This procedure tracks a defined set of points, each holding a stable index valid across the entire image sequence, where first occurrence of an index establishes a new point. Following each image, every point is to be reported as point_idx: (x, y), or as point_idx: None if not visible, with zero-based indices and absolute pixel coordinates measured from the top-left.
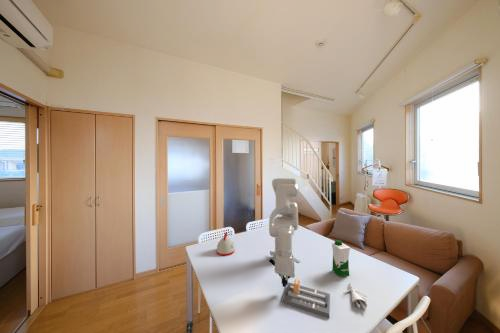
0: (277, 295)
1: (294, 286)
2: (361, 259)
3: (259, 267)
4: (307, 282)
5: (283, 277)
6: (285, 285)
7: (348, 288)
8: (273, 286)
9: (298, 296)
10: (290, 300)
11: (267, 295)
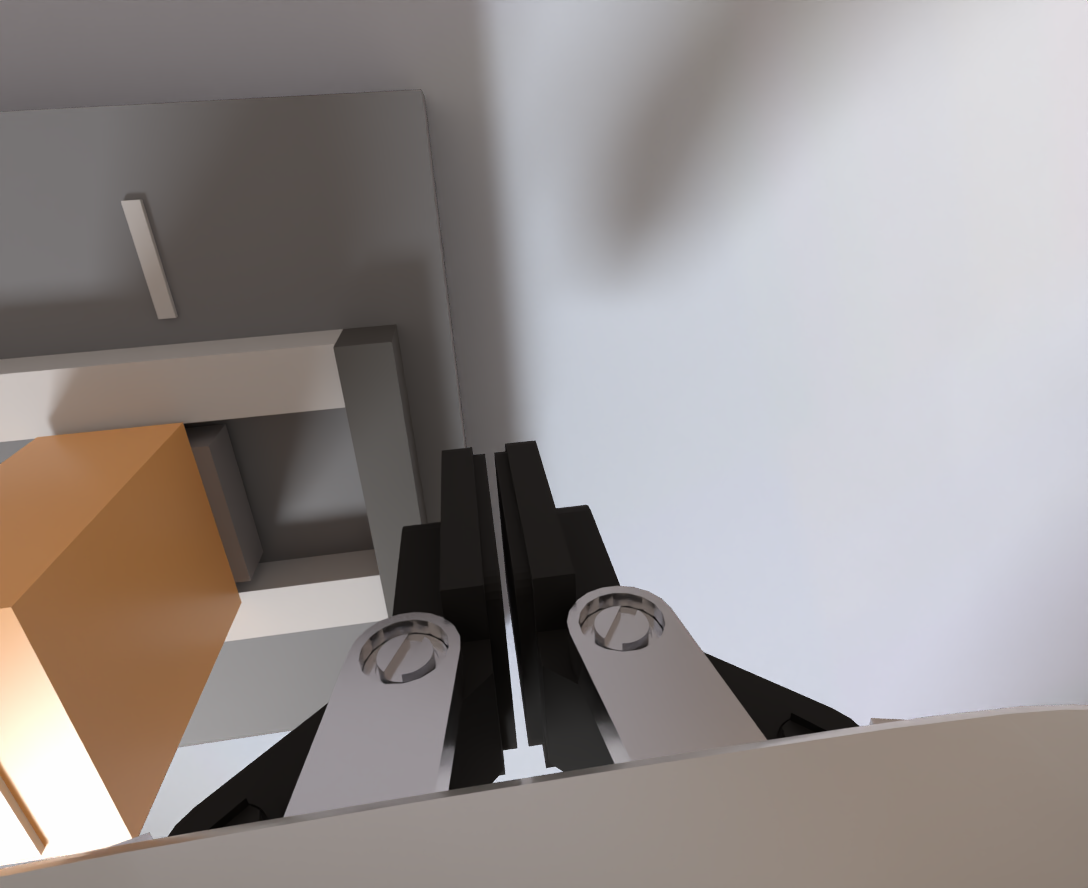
0: (608, 282)
1: (45, 534)
2: None
3: None
4: None
5: (562, 679)
6: (443, 486)
7: None
8: (756, 487)
9: (8, 373)
10: (175, 143)
11: (825, 160)
